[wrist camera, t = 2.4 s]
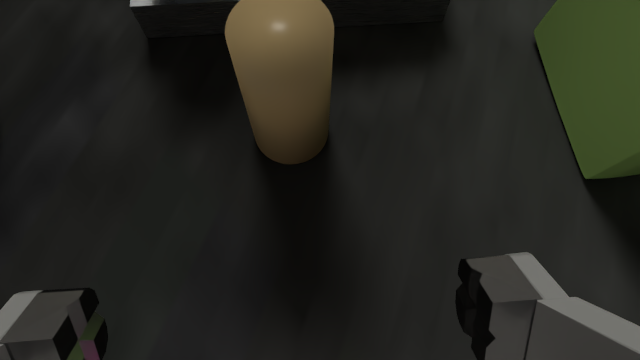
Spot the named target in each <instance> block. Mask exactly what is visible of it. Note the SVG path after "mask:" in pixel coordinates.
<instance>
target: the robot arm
mask: <svg viewBox="0 0 640 360" xmlns="http://www.w3.org/2000/svg"><path fill="white" fill-rule="evenodd" d="M458 276H459V277H460V279H461V281H462V284H461V285H460V286H459V288H458V289H457V290H456V300H455V303H456V311H457V316H458V320H459V323H460V325H461V327H462V330H463V332H464V333H466V334H467V335H469V336H470V337H472V344H471V348H472V350H473V352H474V354H475V356H476V358H477V360H640V326H638V325H636V324H634V323H631V322H629V321H627V320H625V319H623V318H621V317H619V316H616V315H614V314H612V313H610V312H608V311H606V310H604V309H601V308H599V307H597V306H595V305H593V304H591V303H588V302H586V301H584V300H582V299H580V298H578V297H569V296H568V295H567V294H566V293H565V292H564V291H563V289H562V288H561V287H560V286H559V285H558V284H557V283H556V281H555V280H554V279H553V278H552V277H551V276H550V275H549V273H548V272H547V271H546V270H545V269H544V268H543V267H542V265H541V264H540V263H539V262H538V261H537V260H536V259H535V257H534V256H533V255H532V254H530V253H528V252H524V253H514V254H505V255H502V256H490V257H478V258H467V259H461V260H460V263H459V267H458ZM98 304H99V301H98V298H97V295H96V293H95V290H93V289H91V288H73V289H55V290H44V291H41V290H40V291H26V292H20V293H17V294H14V295H13V296H12V297H11V298H10V300H9V301H8V302H7V303H6V304H5V305H4V307H3V308H2V309H1V310H0V360H102V359H103V357H104V354H105V352H106V347H107V342H108V331H107V325H106V322H105V319H104V318H103V317H102V316H100V315H99V314H98V313H96V312H95V310H96V308H97V306H98Z"/></svg>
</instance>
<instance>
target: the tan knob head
mask: <svg viewBox="0 0 640 360" xmlns="http://www.w3.org/2000/svg"><path fill="white" fill-rule="evenodd" d="M225 38H226V42H227V46H228V49H229V53H230V56H231V59H232V63H233V66H234V70H235V73H236V76H237V80H238V83H239V86H240V90H241V93H242V97H243V100H244V103H245V107H246V110H247V113H248V117H249V120H250V124H251V127H252V130H253V134H254V137H255V140H256V143H257V145H258V147H259V149H260V150H261V151H262V153H264V154H265V155H266V156H267V157H268V158H270V159H272V160H273V161H276V162H278V163H282V164H299V163H303V162H306V161H308V160H310V159H312V158H313V157H315V156H316V155H317V154H318V153H319V152H320V151H321V150H322V149H323V147H324V145H325V143H326V141H327V138H328V131H329V113H330V96H331V79H332V61H333V44H334V23H333V19H332V16H331V14H330V12H329V10H328V8H327V7H326V6H325V4H324V3H323V2H322V1H321V0H240V1H239V2H238V3H237V4H236V5H235V6H234V8H233V9H232V11H231V12H230V14H229V16H228V19H227V21H226V26H225Z"/></svg>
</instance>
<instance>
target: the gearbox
mask: <svg viewBox="0 0 640 360" xmlns="http://www.w3.org/2000/svg"><path fill="white" fill-rule="evenodd" d="M534 35H535V39H536V42H537V46H538V49H539V52H540V55H541V58H542V62H543V65H544V68H545V71H546V74H547V77H548V80H549V83H550V86H551V89H552V92H553V95H554V98H555V101H556V104H557V107H558V110H559V113H560V115H561V118H562V121H563V124H564V126H565V129H566V132H567V135H568V137H569V140H570V143H571V145H572V148H573V151H574V153H575V156H576V159H577V161H578V164H579V166H580V169H581V171H582V174H583V176H584V178H585V179H601V178H615V177H623V176H630V175H638V174H640V0H557V1H556V2H555V4H554V5H553V6H552V8H551V9H550V10H549V11H548V13H547V14H546V15H545V17H544V18H543V19H542V21H541V22H540V23H539V24H538V26H537V27H536V29H535V30H534Z"/></svg>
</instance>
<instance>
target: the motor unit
mask: <svg viewBox="0 0 640 360" xmlns="http://www.w3.org/2000/svg"><path fill="white" fill-rule="evenodd" d="M239 1H240V0H130V8H131V10H132V12H133V13H134V15H135V17H136V19H137V21H138V22H139V24H140V26H141V28H142V30H143V31H144V33H145V35H146V37H147V38H160V37H177V36H194V35H211V34H225V26H226V21H227V19H228V16H229V14H230V12H231V11H232V9H233V8H234V6H235V5H236V4H237V3H238V2H239ZM321 1H322V2H323V3H324V4H325V6H326V7H327V8H328V10H329V12H330V14H331V16H332V19H333V23H334V27H349V26H366V25H384V24H401V23H418V22H435V21H443V18H444V16H445V13H446V11H447V8H448V5H449V3H450V0H321Z"/></svg>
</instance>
